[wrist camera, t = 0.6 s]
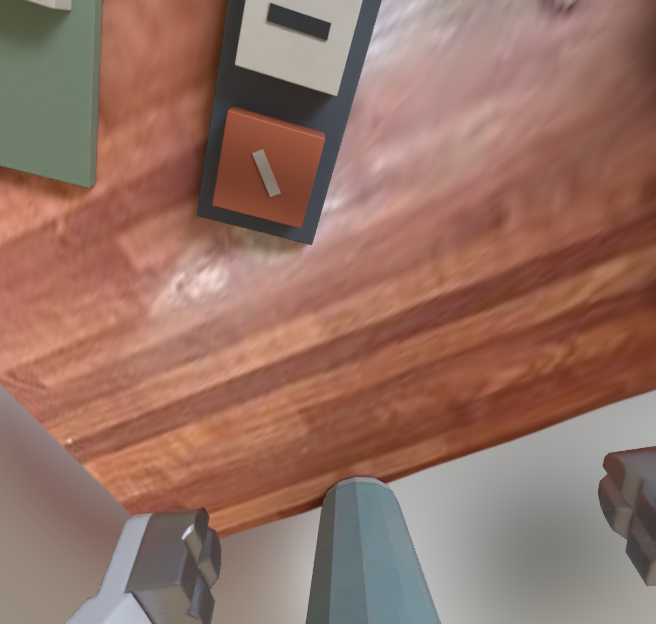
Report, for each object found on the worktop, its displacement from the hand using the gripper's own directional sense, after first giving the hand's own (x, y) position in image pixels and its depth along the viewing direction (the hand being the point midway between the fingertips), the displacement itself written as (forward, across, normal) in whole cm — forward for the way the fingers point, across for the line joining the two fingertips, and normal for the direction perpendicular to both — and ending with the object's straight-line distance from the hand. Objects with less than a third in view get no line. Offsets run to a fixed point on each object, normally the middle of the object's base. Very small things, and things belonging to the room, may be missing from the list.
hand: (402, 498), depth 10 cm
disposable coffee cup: (+22, +2, +28) cm, 35 cm away
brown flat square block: (+20, +4, -3) cm, 21 cm away
